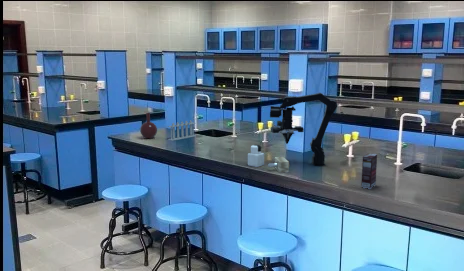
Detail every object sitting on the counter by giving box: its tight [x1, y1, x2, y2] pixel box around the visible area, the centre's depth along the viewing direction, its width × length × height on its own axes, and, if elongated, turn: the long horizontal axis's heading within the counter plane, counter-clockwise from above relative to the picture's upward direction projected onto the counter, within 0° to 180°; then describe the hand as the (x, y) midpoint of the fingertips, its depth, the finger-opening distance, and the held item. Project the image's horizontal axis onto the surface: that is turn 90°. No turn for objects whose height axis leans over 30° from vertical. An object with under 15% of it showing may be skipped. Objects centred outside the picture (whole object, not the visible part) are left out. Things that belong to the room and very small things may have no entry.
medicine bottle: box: [247, 144, 265, 168], centre depth 246 cm, size 7×7×12 cm
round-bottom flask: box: [139, 112, 158, 139], centre depth 328 cm, size 13×13×20 cm
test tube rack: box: [167, 120, 197, 142], centre depth 329 cm, size 25×4×13 cm, turn 136°
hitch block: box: [274, 156, 290, 174], centre depth 236 cm, size 5×12×6 cm, turn 9°
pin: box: [267, 160, 290, 168], centre depth 235 cm, size 12×4×4 cm, turn 99°
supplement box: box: [360, 152, 378, 190], centre depth 204 cm, size 9×5×16 cm, turn 144°
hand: (286, 143), depth 249 cm, fingers closed
